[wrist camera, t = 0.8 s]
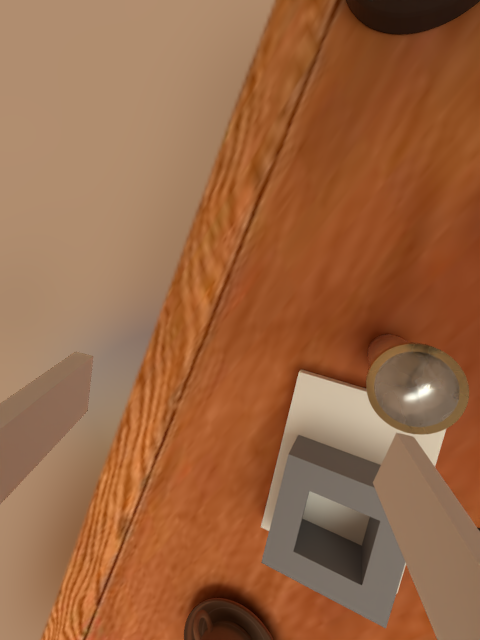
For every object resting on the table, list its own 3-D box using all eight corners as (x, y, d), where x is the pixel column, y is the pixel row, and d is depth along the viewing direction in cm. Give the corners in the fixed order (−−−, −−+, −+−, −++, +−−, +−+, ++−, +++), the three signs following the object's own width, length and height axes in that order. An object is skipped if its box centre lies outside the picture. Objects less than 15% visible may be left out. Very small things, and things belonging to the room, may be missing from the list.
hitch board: (301, 369, 35) (289, 380, 29) (445, 412, 30) (467, 436, 24) (264, 518, 37) (245, 559, 31) (395, 581, 32) (403, 644, 26)
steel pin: (369, 325, 32) (378, 333, 17) (421, 337, 31) (481, 358, 16) (358, 370, 33) (356, 416, 18) (408, 384, 31) (453, 448, 16)
